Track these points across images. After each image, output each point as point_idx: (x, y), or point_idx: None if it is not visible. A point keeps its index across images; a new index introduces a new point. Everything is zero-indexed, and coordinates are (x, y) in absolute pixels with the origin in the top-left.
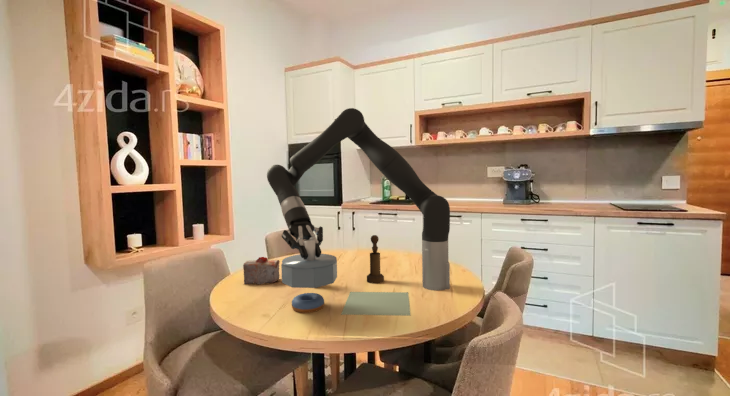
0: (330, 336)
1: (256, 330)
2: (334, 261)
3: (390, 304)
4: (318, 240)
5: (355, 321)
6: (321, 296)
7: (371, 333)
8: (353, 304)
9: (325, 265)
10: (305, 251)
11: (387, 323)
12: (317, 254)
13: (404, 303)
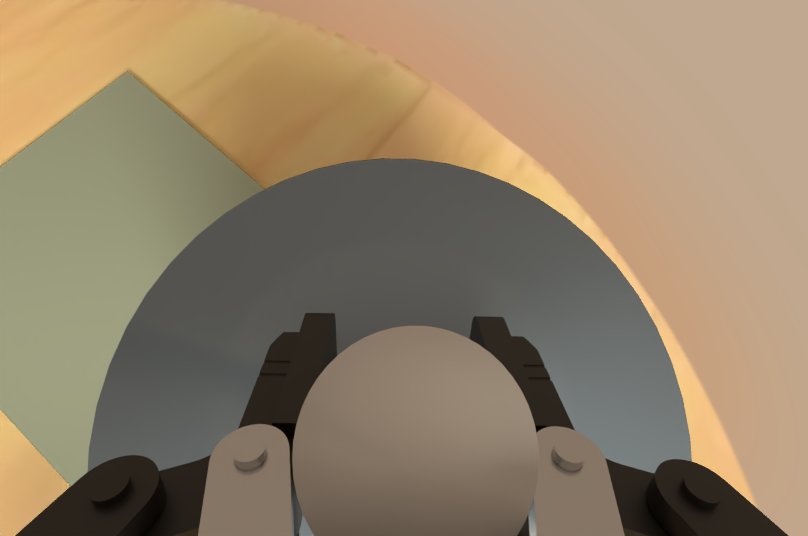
0: (453, 125)
1: (663, 328)
2: (247, 201)
3: (84, 196)
4: (166, 519)
5: (315, 166)
6: None
7: (334, 65)
8: None
9: (372, 165)
10: (503, 347)
11: (238, 86)
12: (333, 349)
13: (30, 168)
